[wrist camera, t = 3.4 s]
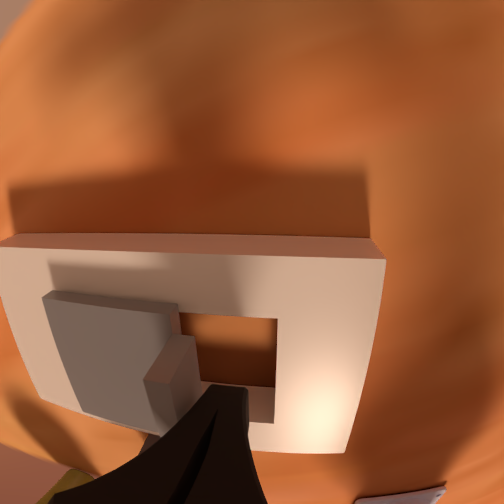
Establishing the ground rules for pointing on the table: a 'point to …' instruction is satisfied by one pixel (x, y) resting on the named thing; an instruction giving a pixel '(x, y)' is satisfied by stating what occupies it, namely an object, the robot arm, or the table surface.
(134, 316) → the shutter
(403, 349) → the table surface
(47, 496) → the plant pot
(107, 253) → the socket plate
